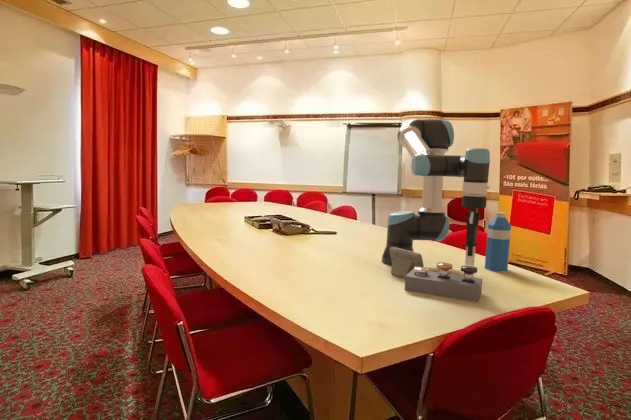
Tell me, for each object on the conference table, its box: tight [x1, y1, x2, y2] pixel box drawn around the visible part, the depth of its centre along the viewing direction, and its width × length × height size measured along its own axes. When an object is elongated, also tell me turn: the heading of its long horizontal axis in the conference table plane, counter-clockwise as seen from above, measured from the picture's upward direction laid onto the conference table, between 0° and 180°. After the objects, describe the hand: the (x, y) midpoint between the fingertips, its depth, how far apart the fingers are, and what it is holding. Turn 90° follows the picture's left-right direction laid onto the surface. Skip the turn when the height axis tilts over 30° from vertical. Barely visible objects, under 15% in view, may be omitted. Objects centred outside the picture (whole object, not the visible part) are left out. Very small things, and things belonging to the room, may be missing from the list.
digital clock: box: [389, 247, 425, 279], centre depth 153 cm, size 16×9×11 cm, turn 24°
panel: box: [404, 269, 483, 303], centre depth 134 cm, size 24×12×5 cm, turn 62°
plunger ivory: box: [413, 266, 430, 276], centre depth 138 cm, size 5×5×5 cm
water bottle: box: [484, 211, 512, 273], centre depth 167 cm, size 9×9×25 cm
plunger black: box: [460, 265, 479, 283], centre depth 130 cm, size 5×5×5 cm
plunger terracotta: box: [436, 261, 454, 279], centre depth 134 cm, size 5×5×5 cm
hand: (469, 264), depth 129 cm, fingers closed
